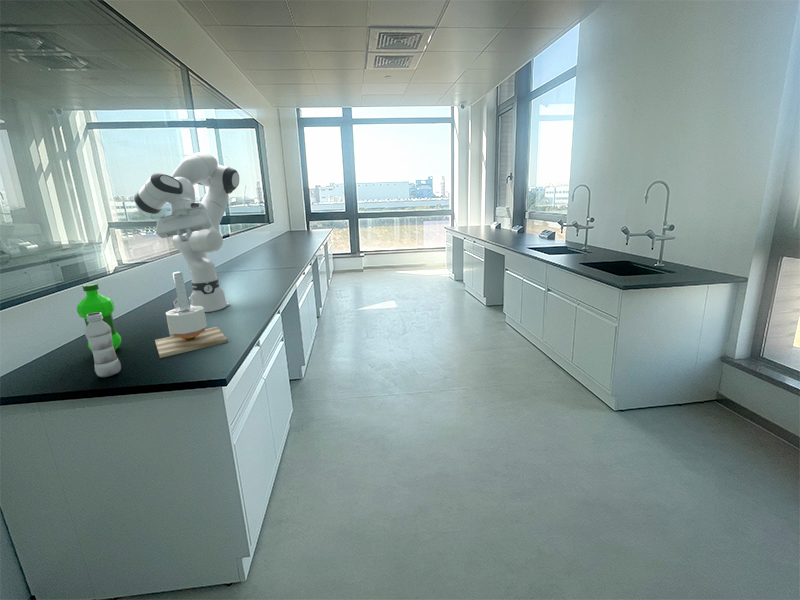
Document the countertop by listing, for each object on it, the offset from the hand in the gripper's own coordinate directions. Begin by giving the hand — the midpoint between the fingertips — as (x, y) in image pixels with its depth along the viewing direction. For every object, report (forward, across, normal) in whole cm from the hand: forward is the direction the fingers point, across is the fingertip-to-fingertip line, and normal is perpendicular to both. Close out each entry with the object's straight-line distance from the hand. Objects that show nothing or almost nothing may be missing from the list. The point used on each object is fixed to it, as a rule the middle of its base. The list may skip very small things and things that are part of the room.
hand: (184, 240), depth 151 cm
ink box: (+28, -14, +21) cm, 38 cm away
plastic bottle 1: (+34, -34, +10) cm, 49 cm away
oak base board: (+37, -5, +13) cm, 40 cm away
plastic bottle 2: (+51, -21, -6) cm, 55 cm away
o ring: (+34, -4, +11) cm, 36 cm away
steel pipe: (+36, -5, +12) cm, 38 cm away
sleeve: (+33, -4, +10) cm, 34 cm away
